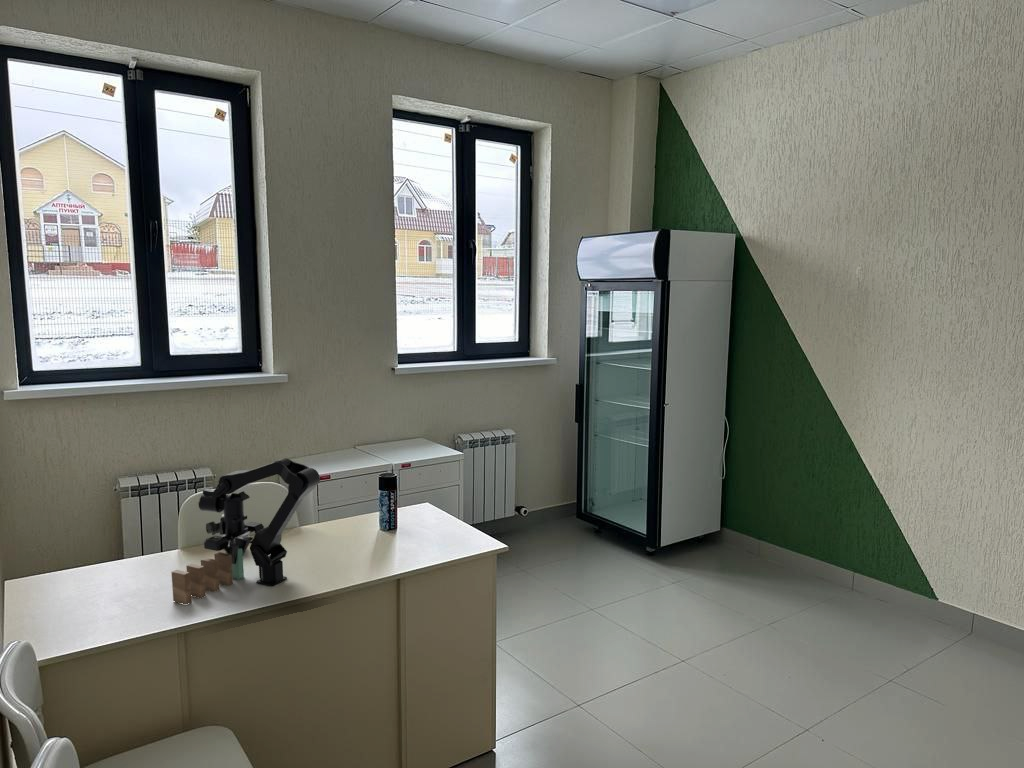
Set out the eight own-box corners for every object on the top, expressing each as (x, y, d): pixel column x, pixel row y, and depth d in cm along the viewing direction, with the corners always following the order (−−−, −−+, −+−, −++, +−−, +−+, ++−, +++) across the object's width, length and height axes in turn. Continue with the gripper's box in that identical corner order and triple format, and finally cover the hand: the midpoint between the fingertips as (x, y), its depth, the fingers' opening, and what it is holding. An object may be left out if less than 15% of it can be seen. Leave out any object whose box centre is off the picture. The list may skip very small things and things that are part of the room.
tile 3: (207, 586, 209) (205, 557, 208) (219, 589, 207) (218, 560, 206) (202, 589, 207) (200, 559, 206) (214, 591, 205) (213, 562, 204)
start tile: (231, 574, 218) (230, 546, 217) (243, 576, 216) (242, 548, 215) (227, 576, 217) (225, 548, 215) (239, 578, 214) (237, 550, 213)
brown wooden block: (178, 599, 200) (176, 569, 199) (191, 603, 198) (189, 572, 197) (173, 602, 198) (171, 571, 197) (186, 605, 196) (184, 574, 195)
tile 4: (193, 593, 204) (191, 563, 203) (205, 596, 202) (204, 566, 201) (188, 595, 203) (186, 565, 202) (200, 598, 201) (198, 568, 200)
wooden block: (220, 580, 213) (219, 552, 212) (232, 583, 211) (231, 554, 210) (215, 582, 212) (214, 554, 211) (228, 585, 210) (226, 556, 209)
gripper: (237, 502, 225) (240, 549, 227) (189, 518, 208) (192, 569, 210) (264, 506, 221) (266, 554, 223) (216, 523, 204) (219, 575, 206)
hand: (236, 562), depth 215 cm, fingers closed on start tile, 2 cm apart
